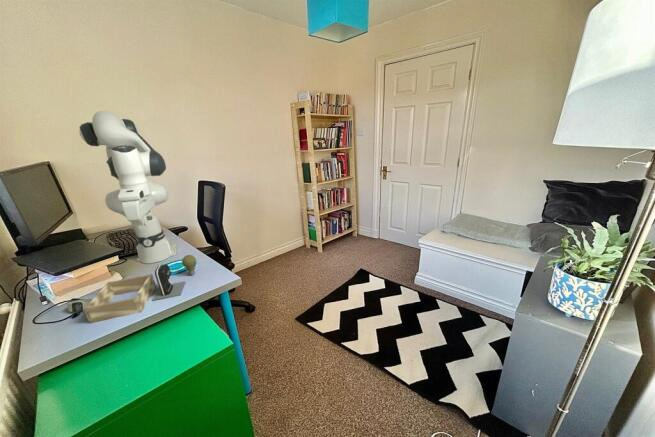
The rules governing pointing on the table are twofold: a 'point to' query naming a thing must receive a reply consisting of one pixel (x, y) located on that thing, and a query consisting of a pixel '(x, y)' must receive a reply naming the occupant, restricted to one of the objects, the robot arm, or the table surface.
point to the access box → (105, 310)
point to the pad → (175, 291)
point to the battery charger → (163, 279)
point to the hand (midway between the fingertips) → (146, 223)
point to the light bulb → (189, 263)
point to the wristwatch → (78, 305)
